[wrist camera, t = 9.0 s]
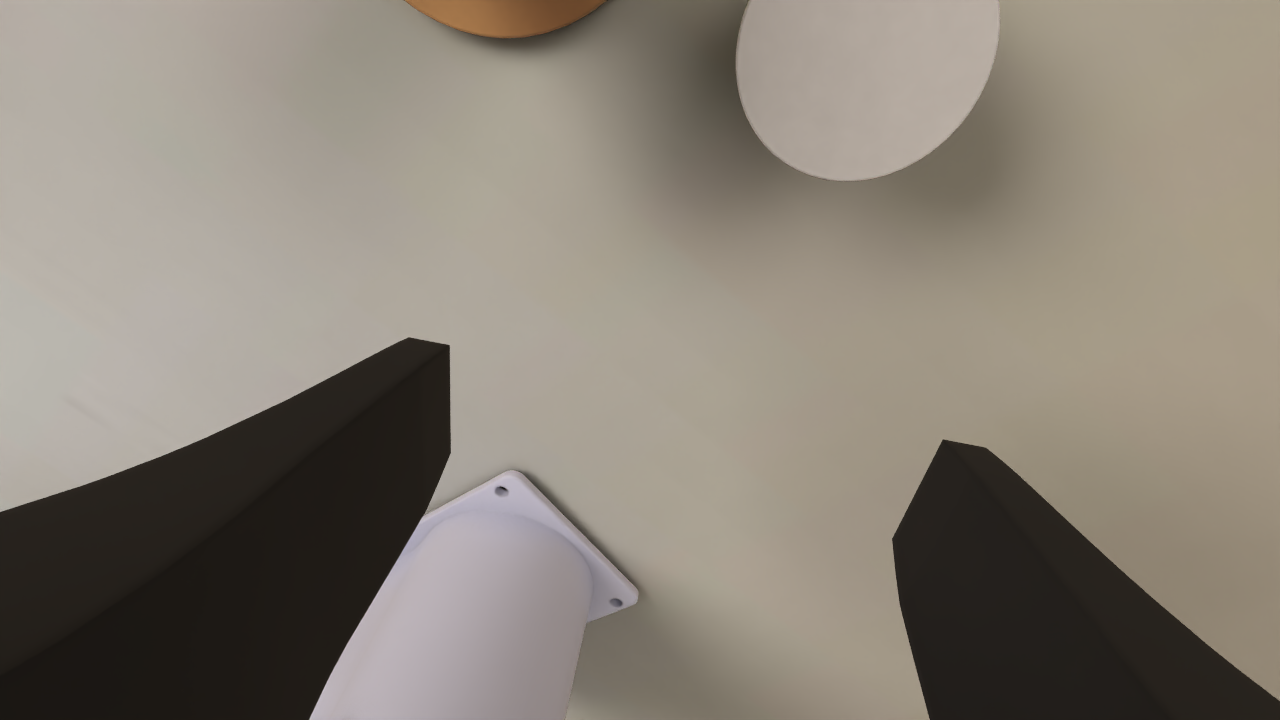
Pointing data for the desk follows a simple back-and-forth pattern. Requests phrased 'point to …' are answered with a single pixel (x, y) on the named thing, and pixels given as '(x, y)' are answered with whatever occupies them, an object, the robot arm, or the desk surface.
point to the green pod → (862, 79)
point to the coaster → (506, 15)
